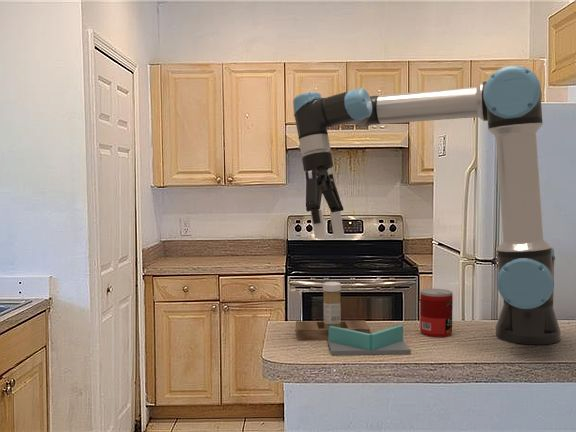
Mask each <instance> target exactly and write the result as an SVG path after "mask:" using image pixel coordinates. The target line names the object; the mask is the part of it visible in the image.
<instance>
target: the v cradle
mask: <svg viewBox="0 0 576 432" xmlns="http://www.w3.org/2000/svg"><path fill="white" fill-rule="evenodd" d="M326 341H327V344H328V348H329V351H330V354H331V356H380V355H381V356H384V355H385V356H386V355H388V356H390V355H411V354H412V350H411V348H410V347H409V346H408V344H407V343H406V342H405V340H404V325H400V324H398V325H394V326H391V327H388V328H385V329H381V330H378V331H375V332H372V333H371V332H370V334H369V333H364V332H359V331H354V330H349V329H344V328H340V327H335V326H329V338H327V340H326Z"/></svg>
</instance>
